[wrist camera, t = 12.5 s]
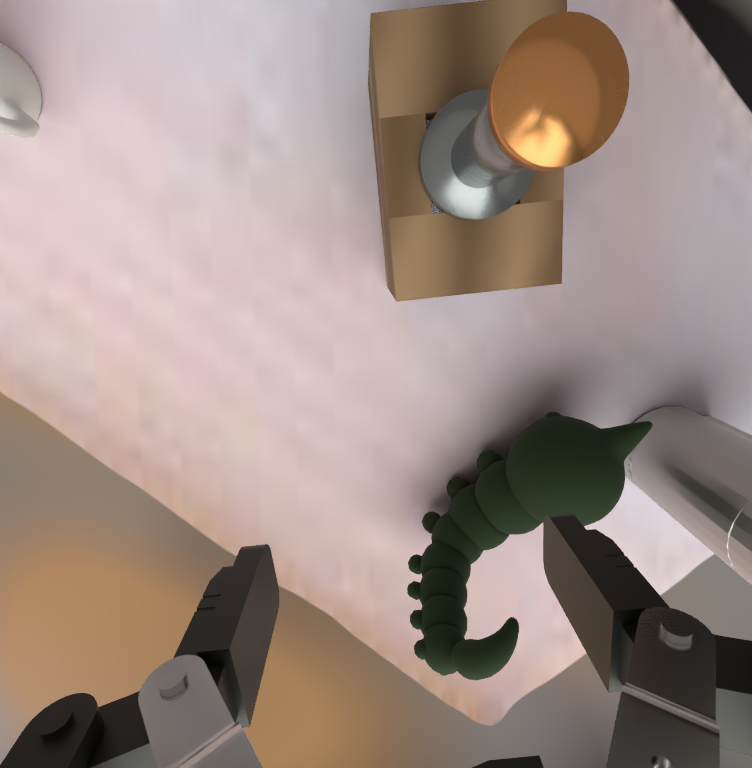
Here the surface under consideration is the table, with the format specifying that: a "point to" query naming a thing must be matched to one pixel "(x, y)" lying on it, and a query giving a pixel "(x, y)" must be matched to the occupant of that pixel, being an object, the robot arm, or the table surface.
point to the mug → (18, 96)
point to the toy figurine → (510, 527)
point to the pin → (526, 117)
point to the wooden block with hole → (404, 137)
